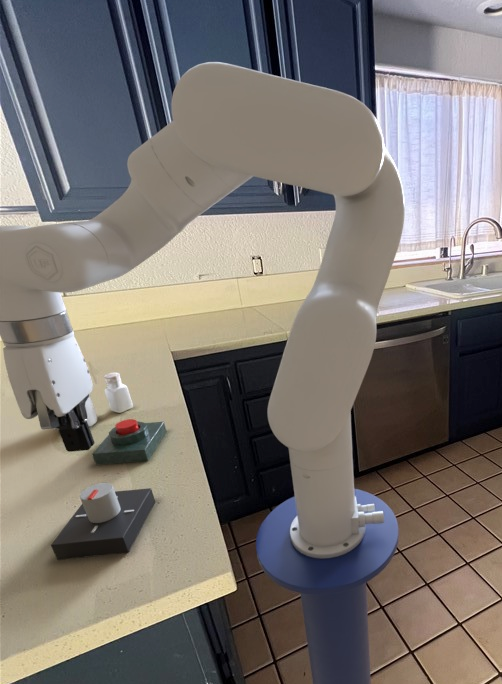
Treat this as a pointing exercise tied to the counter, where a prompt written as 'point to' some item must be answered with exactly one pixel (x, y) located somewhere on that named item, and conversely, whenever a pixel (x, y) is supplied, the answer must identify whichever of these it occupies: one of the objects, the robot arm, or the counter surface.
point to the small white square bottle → (117, 393)
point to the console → (130, 444)
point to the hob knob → (100, 502)
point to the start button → (127, 427)
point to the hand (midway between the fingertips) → (81, 447)
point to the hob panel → (105, 528)
